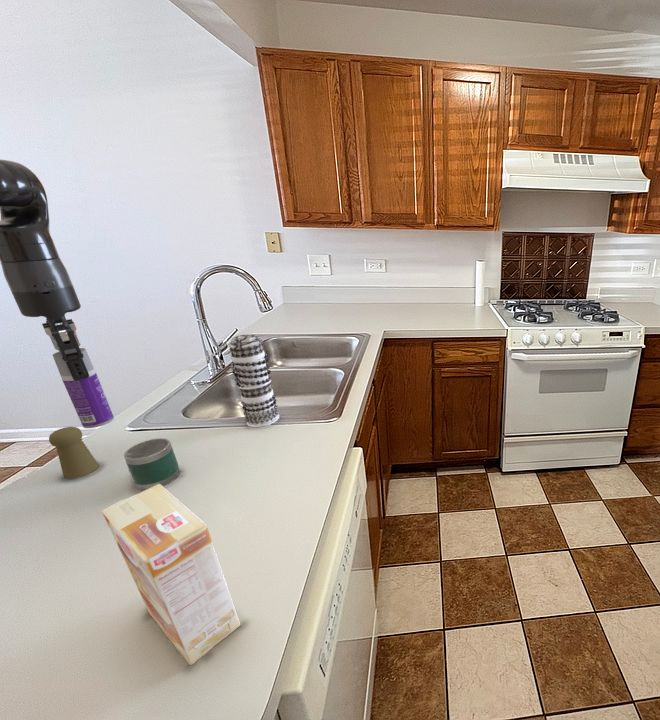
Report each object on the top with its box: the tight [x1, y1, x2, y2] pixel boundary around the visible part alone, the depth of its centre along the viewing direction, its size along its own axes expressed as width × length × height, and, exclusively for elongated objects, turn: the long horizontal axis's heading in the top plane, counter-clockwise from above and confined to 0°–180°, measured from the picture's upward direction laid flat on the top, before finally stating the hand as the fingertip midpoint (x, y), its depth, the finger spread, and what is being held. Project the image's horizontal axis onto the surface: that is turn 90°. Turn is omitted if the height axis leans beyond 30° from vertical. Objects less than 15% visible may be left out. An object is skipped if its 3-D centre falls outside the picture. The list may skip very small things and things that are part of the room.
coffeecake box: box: [100, 484, 242, 666], centre depth 56 cm, size 15×7×20 cm, turn 56°
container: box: [52, 347, 115, 429], centre depth 76 cm, size 5×5×15 cm
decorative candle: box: [226, 333, 280, 428], centre depth 109 cm, size 9×9×25 cm
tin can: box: [123, 437, 181, 491], centre depth 88 cm, size 8×8×8 cm
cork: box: [48, 426, 100, 480], centre depth 90 cm, size 6×6×11 cm
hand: (79, 374), depth 75 cm, fingers closed on container, 4 cm apart
